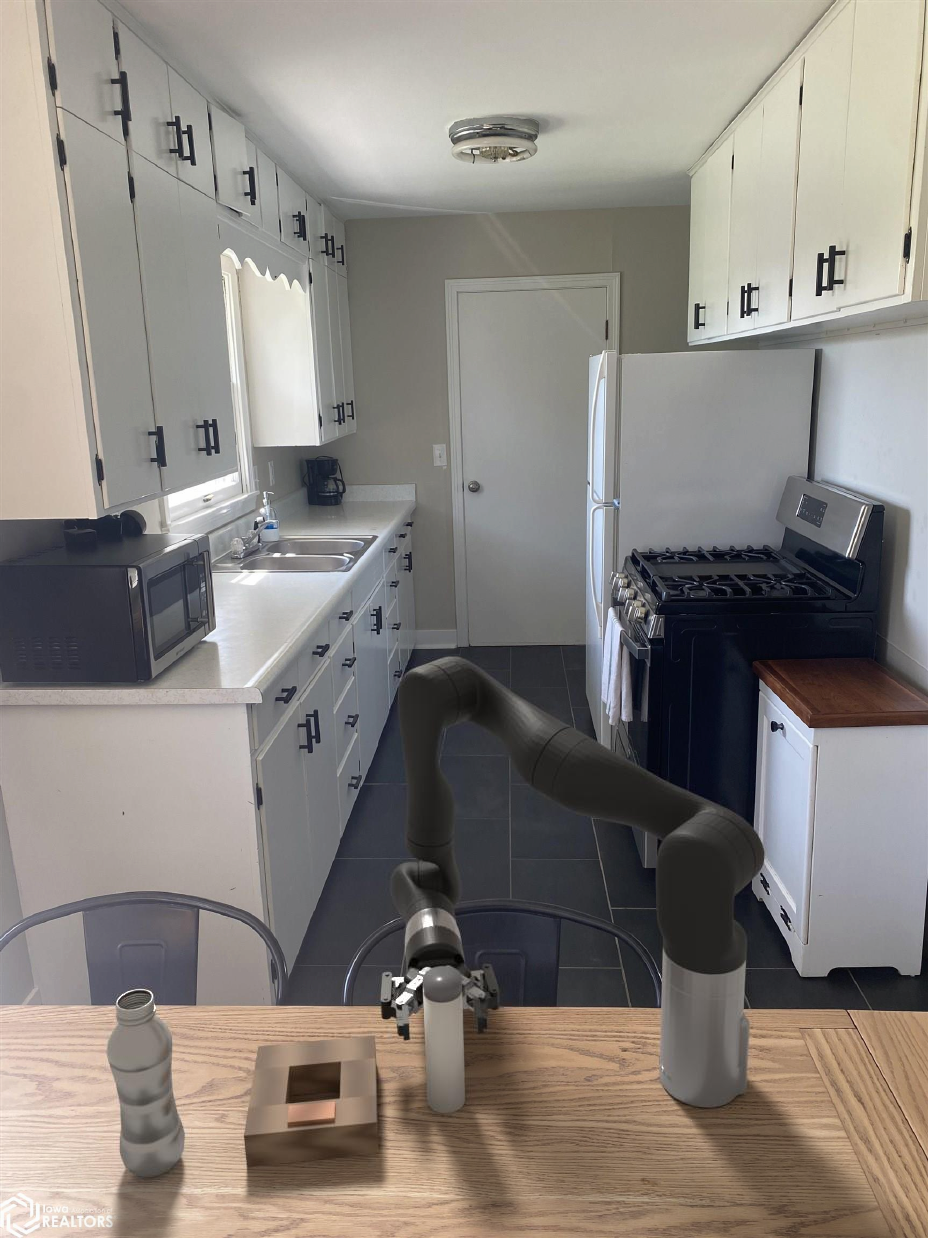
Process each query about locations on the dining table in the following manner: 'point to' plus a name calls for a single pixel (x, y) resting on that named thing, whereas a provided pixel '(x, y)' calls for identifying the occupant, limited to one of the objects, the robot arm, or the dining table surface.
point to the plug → (444, 1039)
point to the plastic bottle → (144, 1086)
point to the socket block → (312, 1102)
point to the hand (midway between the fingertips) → (444, 1030)
